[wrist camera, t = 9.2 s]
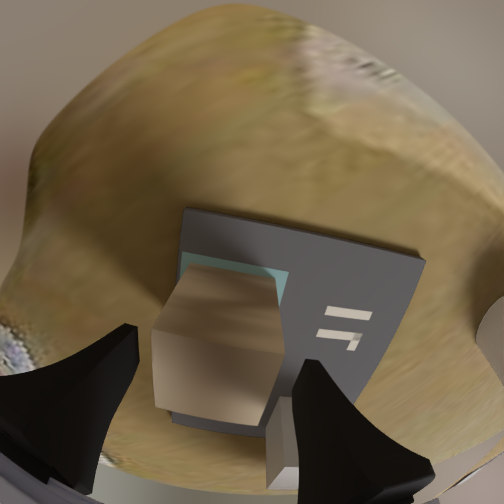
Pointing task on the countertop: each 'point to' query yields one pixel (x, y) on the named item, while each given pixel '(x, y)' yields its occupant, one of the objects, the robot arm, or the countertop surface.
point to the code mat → (308, 298)
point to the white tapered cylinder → (493, 337)
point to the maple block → (218, 345)
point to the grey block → (282, 448)
